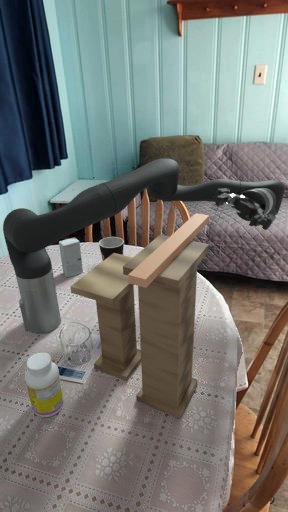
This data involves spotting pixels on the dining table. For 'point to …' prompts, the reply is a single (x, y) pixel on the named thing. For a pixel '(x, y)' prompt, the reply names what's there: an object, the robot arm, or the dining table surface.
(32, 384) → the supplement bottle
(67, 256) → the skincare box
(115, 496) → the dining table surface
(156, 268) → the slat
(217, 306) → the dining table surface
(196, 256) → the pedestals
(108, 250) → the coffee mug
